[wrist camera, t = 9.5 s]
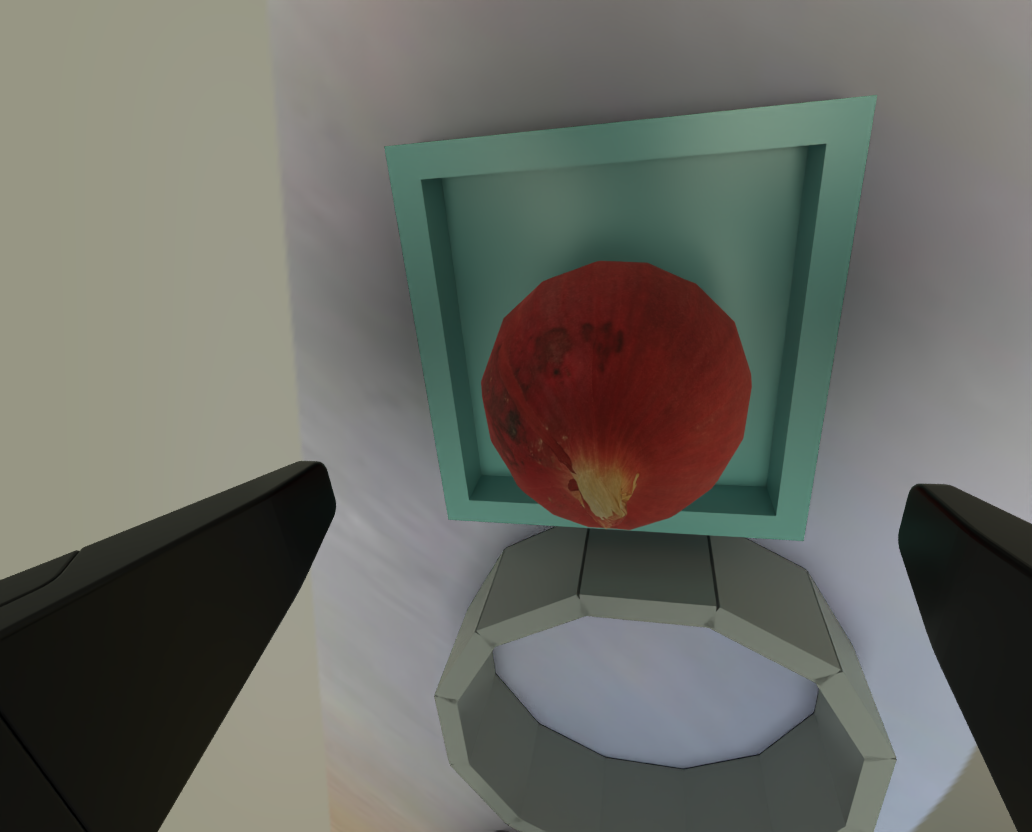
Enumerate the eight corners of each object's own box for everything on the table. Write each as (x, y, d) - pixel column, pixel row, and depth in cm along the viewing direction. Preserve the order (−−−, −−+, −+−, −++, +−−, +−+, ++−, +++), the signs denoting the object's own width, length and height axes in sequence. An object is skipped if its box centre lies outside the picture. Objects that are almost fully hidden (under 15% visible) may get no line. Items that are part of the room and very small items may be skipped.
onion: (498, 389, 18) (387, 554, 11) (562, 203, 15) (470, 261, 8) (673, 460, 17) (679, 680, 10) (773, 285, 14) (876, 422, 7)
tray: (787, 498, 18) (803, 541, 16) (467, 484, 20) (448, 519, 18) (845, 100, 13) (877, 94, 11) (416, 144, 15) (384, 146, 14)
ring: (816, 801, 24) (845, 918, 20) (491, 750, 27) (467, 843, 23) (882, 527, 17) (939, 626, 14) (449, 503, 21) (408, 579, 17)
